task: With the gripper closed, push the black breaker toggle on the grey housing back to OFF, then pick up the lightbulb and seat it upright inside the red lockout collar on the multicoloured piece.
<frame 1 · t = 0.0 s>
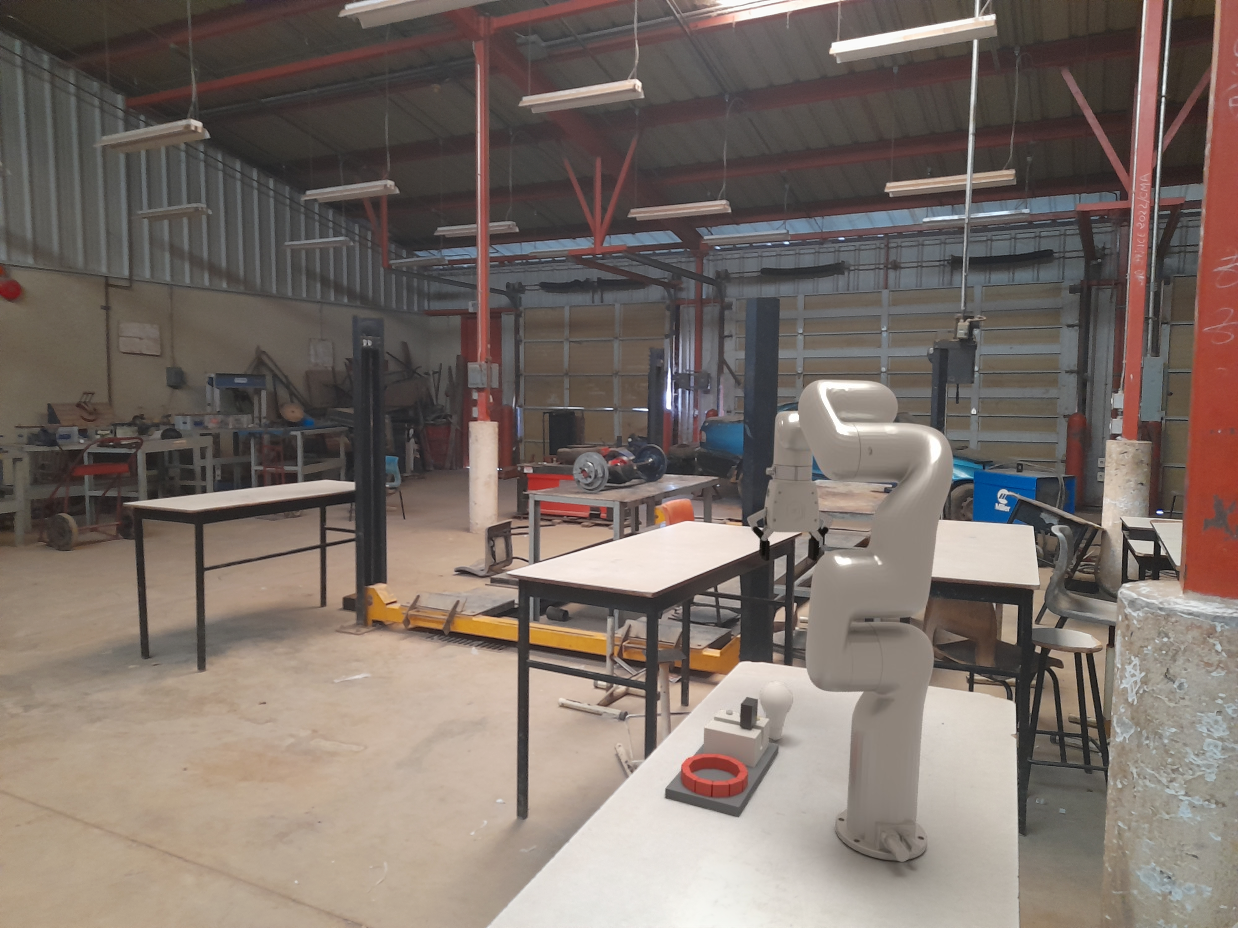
hand: (788, 559, 155), 31 cm above the table, fingers open, 9 cm apart
breaker toggle: (748, 722, 135), point 7 cm above the table, slide at 0.0 cm
lightbulb: (774, 740, 145), on the table
multicoloured piece: (725, 773, 131), on the table
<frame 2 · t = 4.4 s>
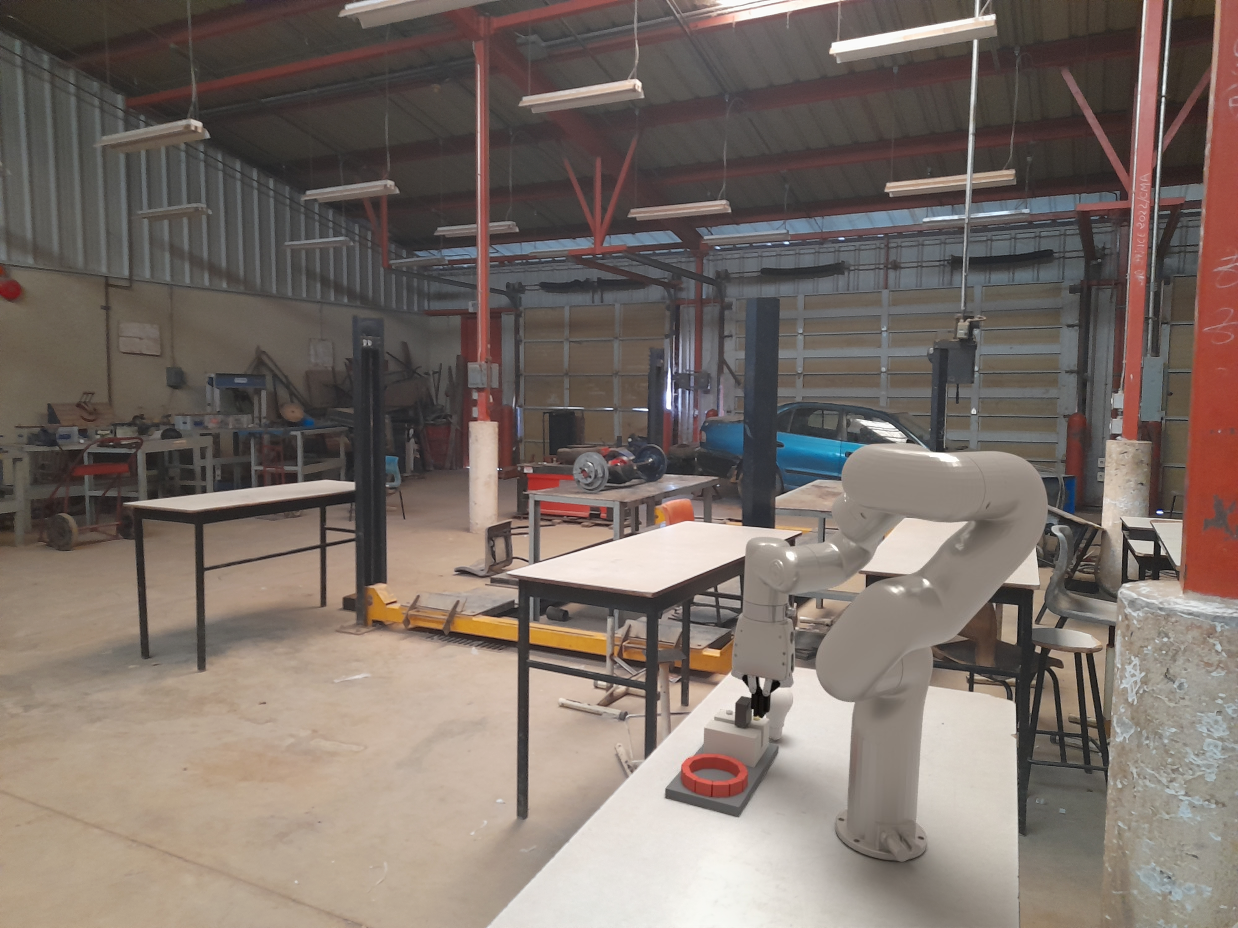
hand: (760, 714, 134), 9 cm above the table, fingers closed
breaker toggle: (743, 720, 136), point 7 cm above the table, slide at 1.0 cm, touching gripper
everything else where it was.
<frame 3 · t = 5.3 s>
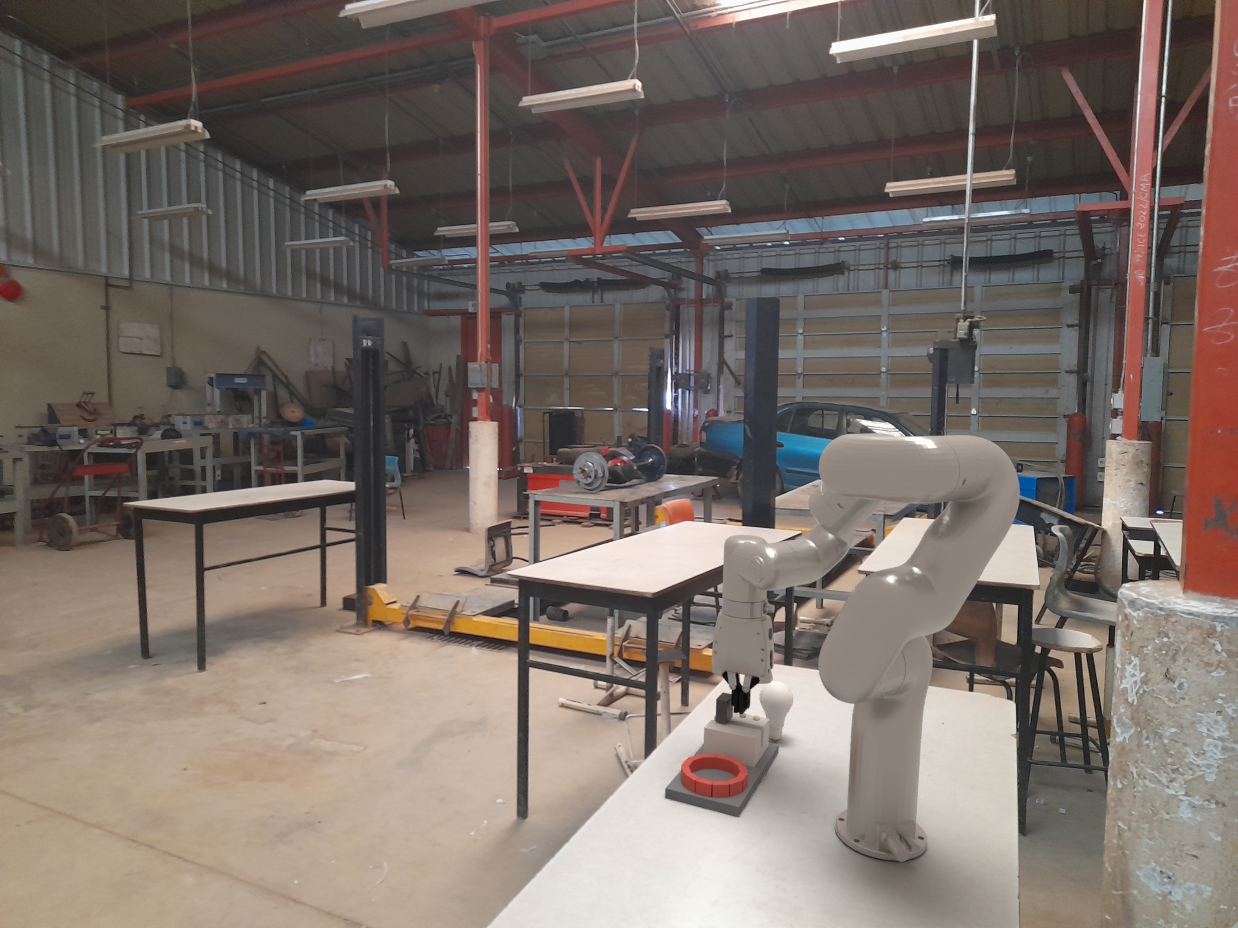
hand: (740, 710, 136), 9 cm above the table, fingers closed
breaker toggle: (724, 716, 137), point 7 cm above the table, slide at 4.4 cm, touching gripper
everything else where it was.
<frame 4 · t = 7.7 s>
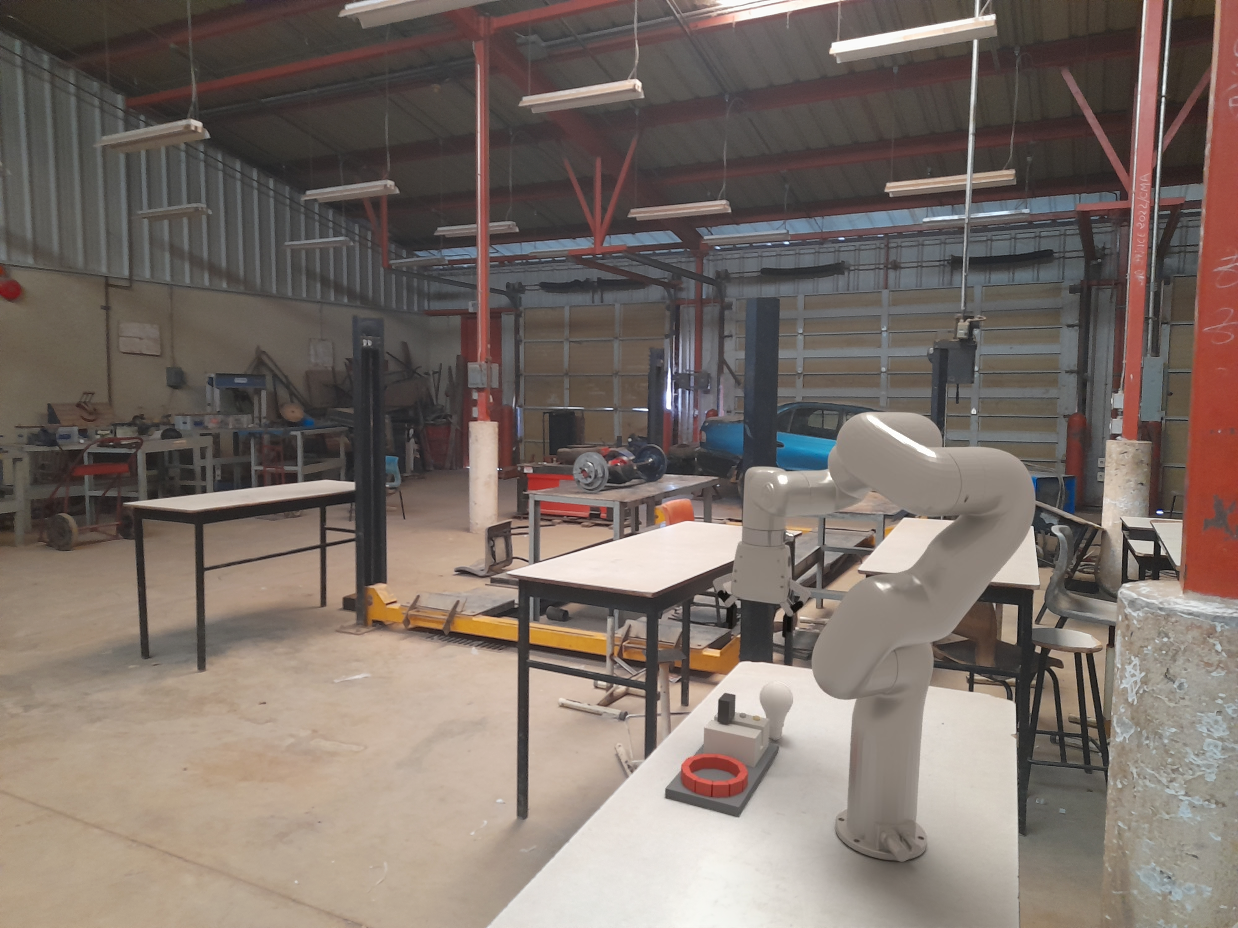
hand: (758, 631, 139), 22 cm above the table, fingers open, 9 cm apart
breaker toggle: (726, 717, 137), point 7 cm above the table, slide at 4.0 cm
everything else where it was.
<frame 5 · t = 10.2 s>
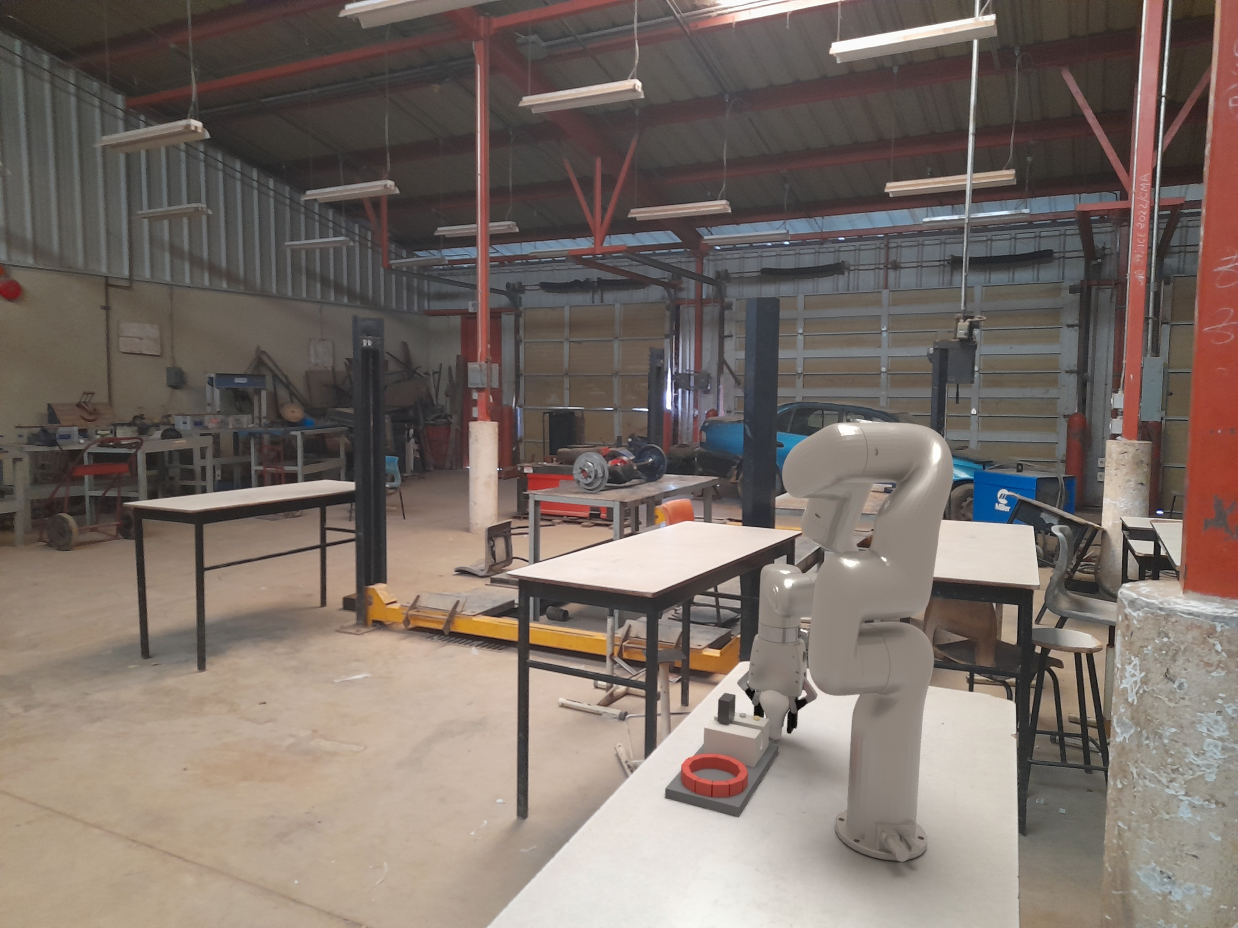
hand: (775, 726, 145), 2 cm above the table, fingers closed on lightbulb, 5 cm apart
lightbulb: (774, 740, 145), on the table, touching gripper
everything else where it was.
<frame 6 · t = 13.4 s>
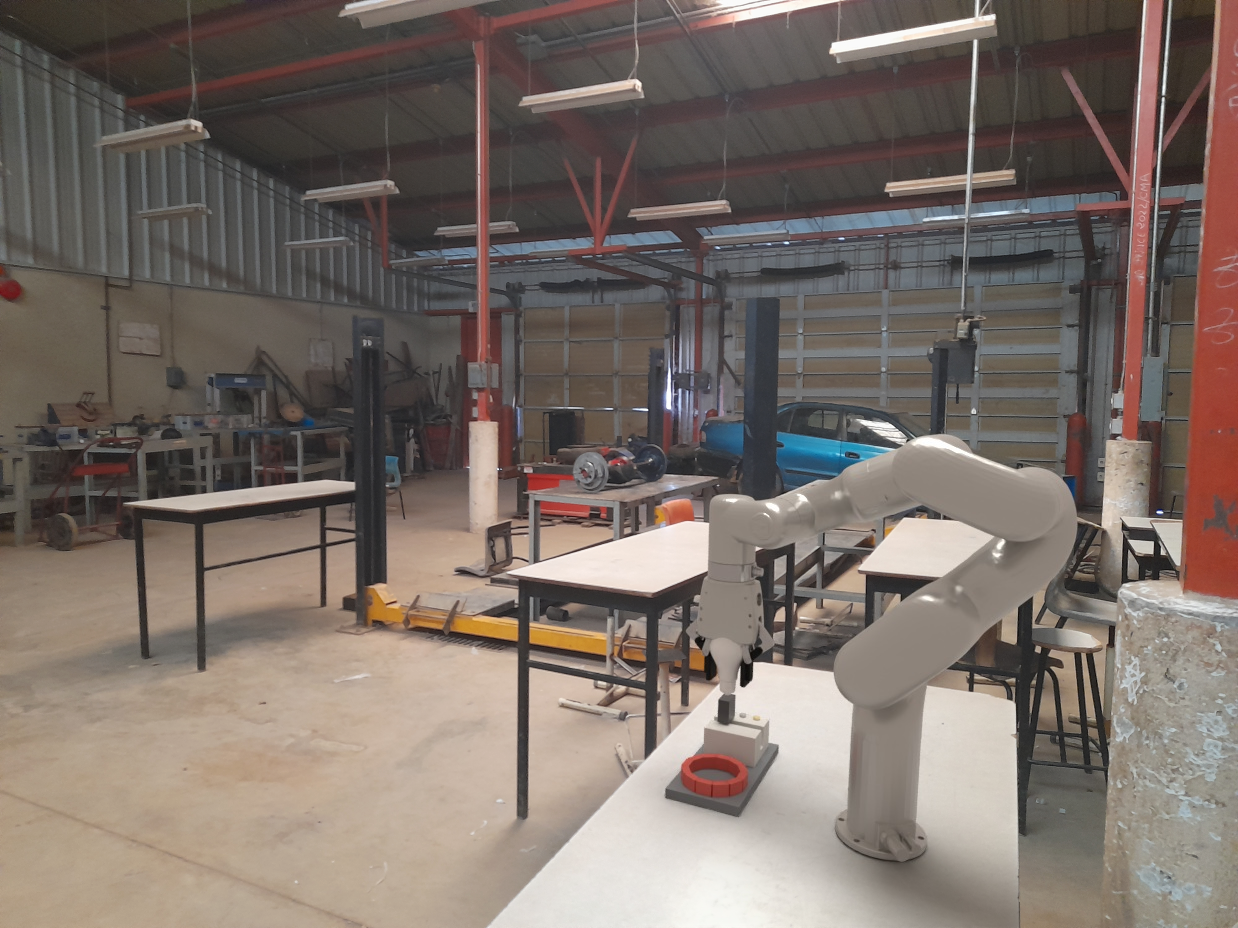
hand: (728, 680, 127), 17 cm above the table, fingers closed on lightbulb, 5 cm apart
lightbulb: (727, 695, 127), point 15 cm above the table, touching gripper
everything else where it was.
when the fingers open (5 cm above the table, at t = 16.4 s): lightbulb drops 1 cm, resting on multicoloured piece.
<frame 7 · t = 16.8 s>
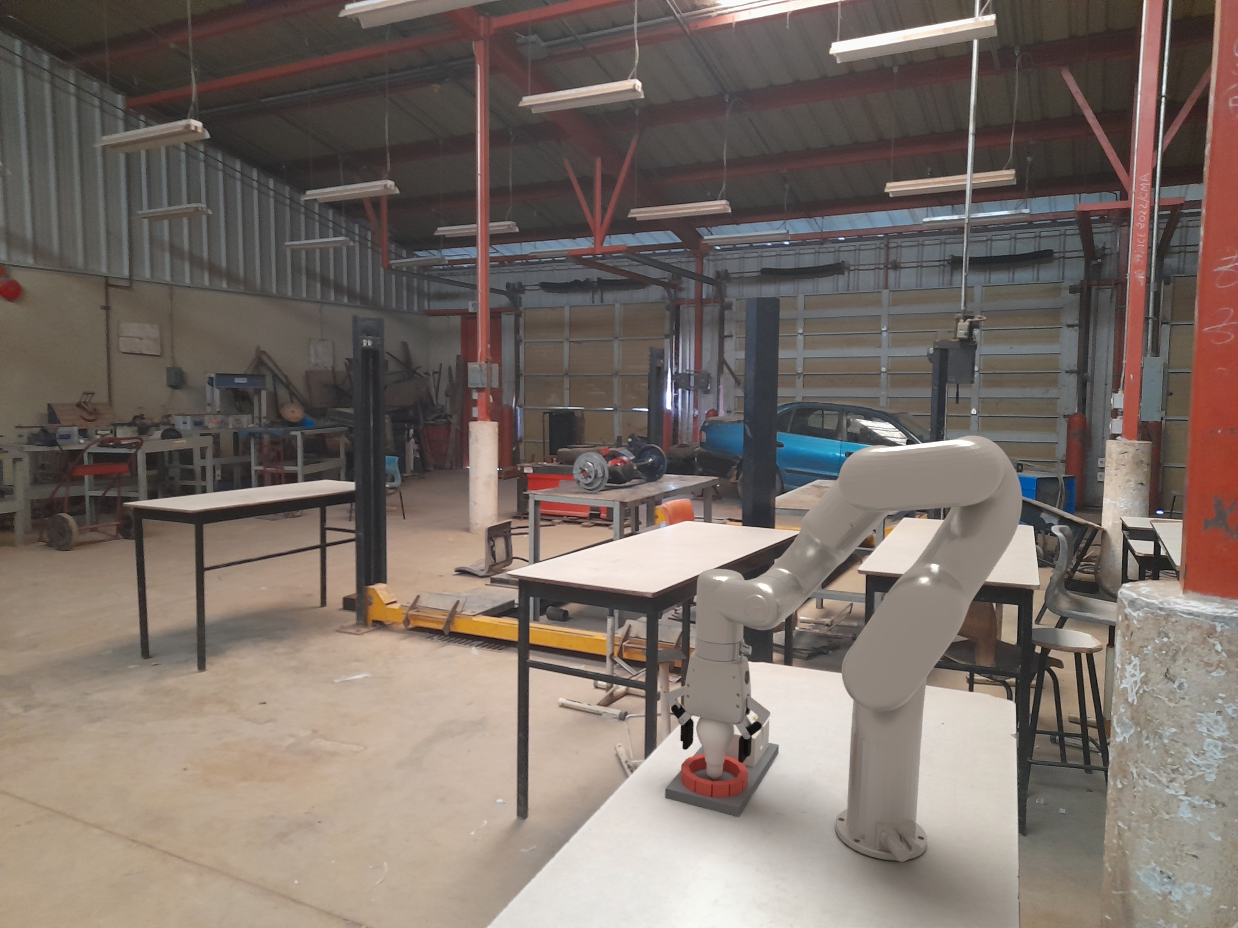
hand: (715, 752, 125), 6 cm above the table, fingers open, 9 cm apart
lightbulb: (714, 779, 126), point 1 cm above the table, touching multicoloured piece
everything else where it was.
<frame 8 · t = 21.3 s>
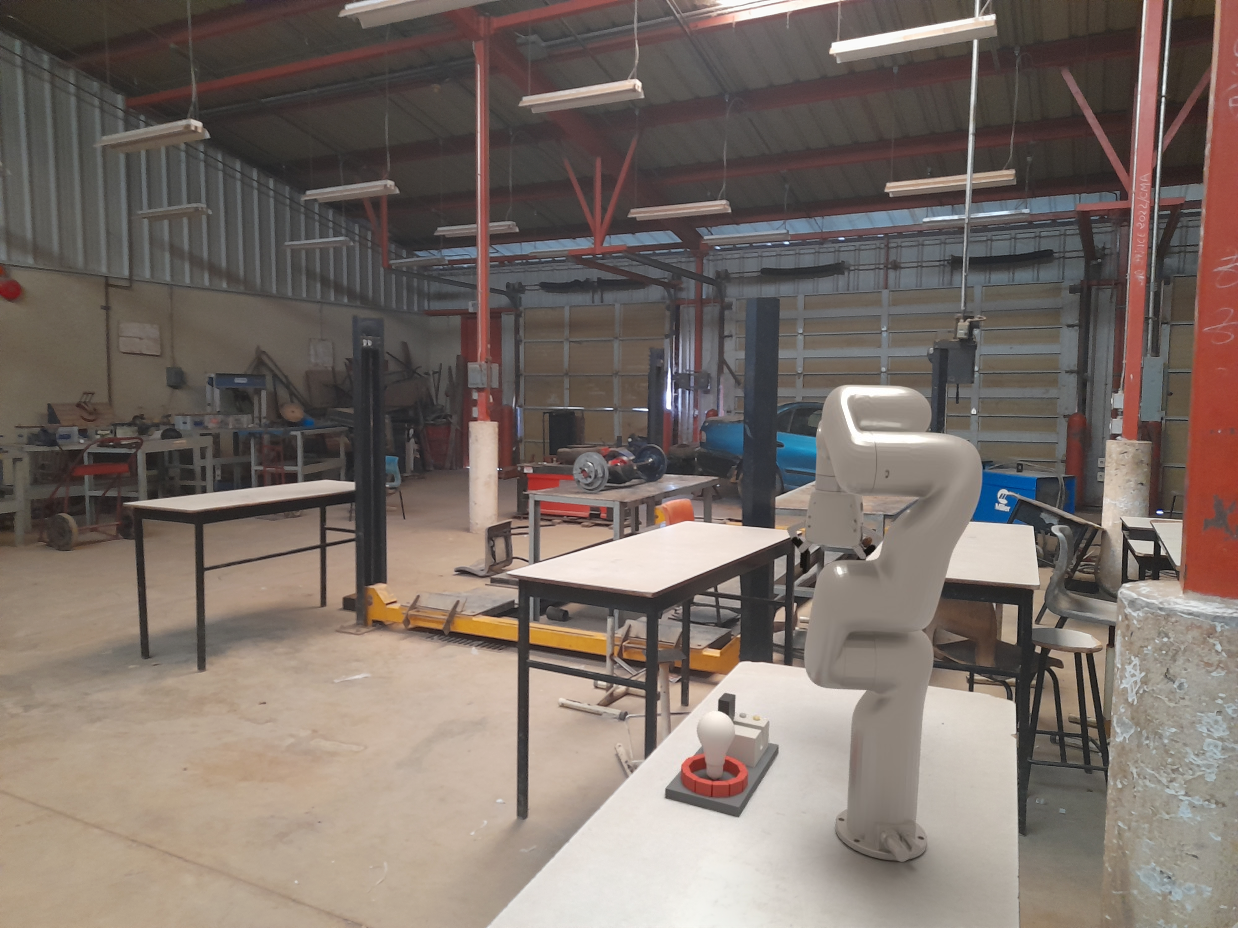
hand: (831, 575, 146), 30 cm above the table, fingers open, 9 cm apart
nothing on the table moved.
at the end: breaker toggle slide at 4.0 cm; lightbulb 0.5 cm from the target spot on the multicoloured piece, point 1.3 cm above the multicoloured piece's base; lightbulb tilted 1° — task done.
